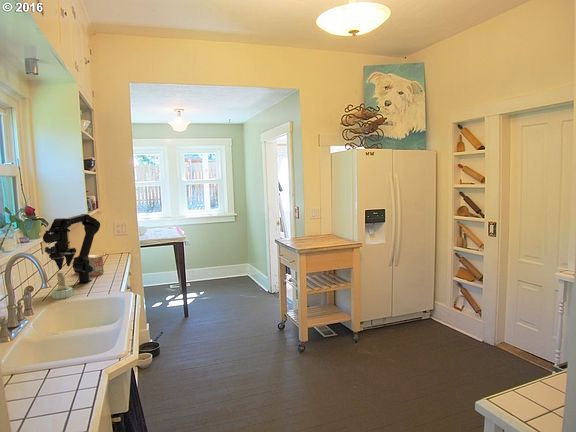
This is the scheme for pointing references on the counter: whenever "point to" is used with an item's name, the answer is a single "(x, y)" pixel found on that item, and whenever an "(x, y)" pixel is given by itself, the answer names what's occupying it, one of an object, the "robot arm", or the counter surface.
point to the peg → (61, 281)
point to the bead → (62, 293)
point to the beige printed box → (96, 264)
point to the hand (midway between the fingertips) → (64, 267)
